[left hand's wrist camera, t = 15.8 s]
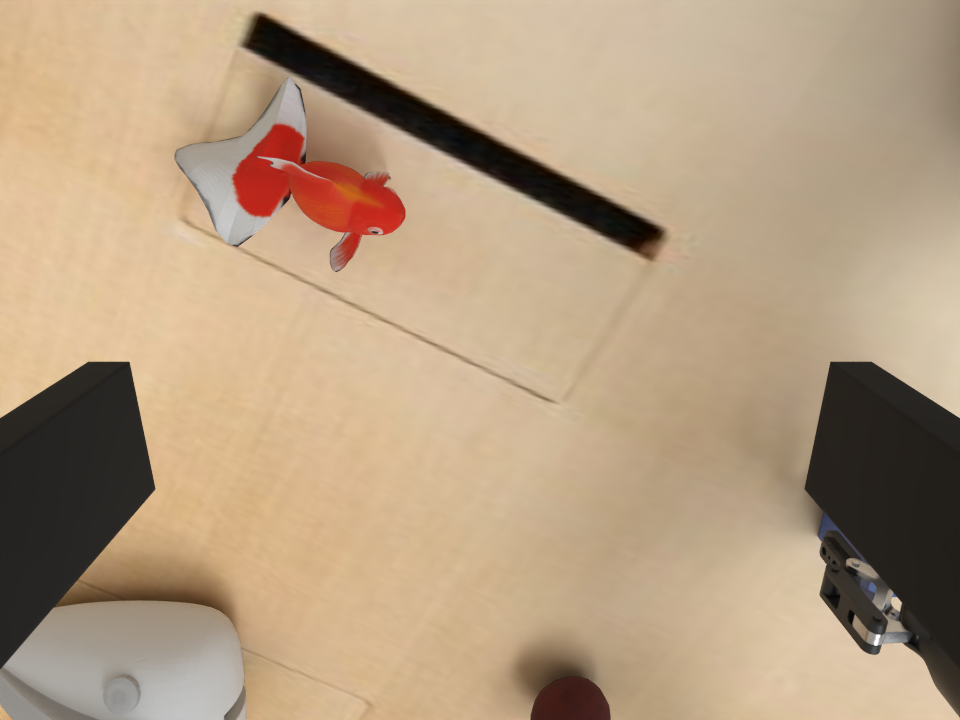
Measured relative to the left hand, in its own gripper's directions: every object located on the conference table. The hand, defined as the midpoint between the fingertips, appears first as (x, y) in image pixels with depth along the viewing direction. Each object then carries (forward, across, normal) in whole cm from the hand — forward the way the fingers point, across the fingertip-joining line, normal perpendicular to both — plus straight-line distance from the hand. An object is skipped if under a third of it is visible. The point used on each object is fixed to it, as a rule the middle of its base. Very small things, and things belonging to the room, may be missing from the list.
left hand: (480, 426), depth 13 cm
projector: (+37, -33, -42) cm, 65 cm away
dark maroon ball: (+37, +8, -47) cm, 60 cm away
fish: (+37, -12, +1) cm, 39 cm away
